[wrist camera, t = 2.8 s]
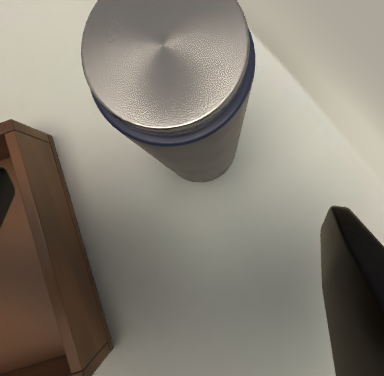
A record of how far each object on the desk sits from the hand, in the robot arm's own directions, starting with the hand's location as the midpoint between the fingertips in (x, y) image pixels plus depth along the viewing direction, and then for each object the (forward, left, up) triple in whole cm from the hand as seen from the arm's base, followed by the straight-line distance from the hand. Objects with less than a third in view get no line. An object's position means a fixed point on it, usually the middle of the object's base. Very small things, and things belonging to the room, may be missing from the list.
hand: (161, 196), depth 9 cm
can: (+3, -1, -10) cm, 11 cm away
